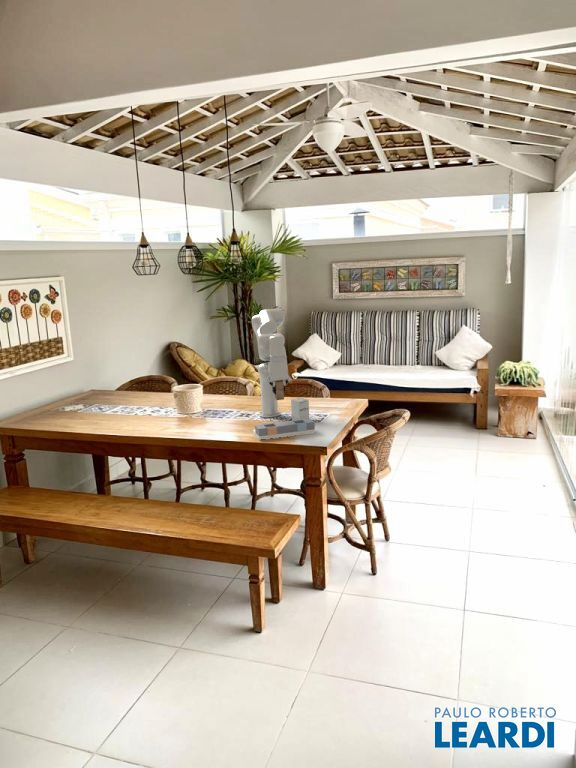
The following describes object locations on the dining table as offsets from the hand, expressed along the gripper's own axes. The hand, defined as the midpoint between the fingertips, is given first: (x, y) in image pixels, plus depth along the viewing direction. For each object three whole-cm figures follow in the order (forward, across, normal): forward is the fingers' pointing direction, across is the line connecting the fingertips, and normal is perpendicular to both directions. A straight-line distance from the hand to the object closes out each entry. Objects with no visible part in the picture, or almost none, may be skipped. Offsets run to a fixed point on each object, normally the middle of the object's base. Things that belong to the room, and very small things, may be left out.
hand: (279, 392), depth 316 cm
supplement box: (+21, -16, -15) cm, 31 cm away
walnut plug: (+3, 0, 0) cm, 3 cm away
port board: (+21, 0, +5) cm, 21 cm away
